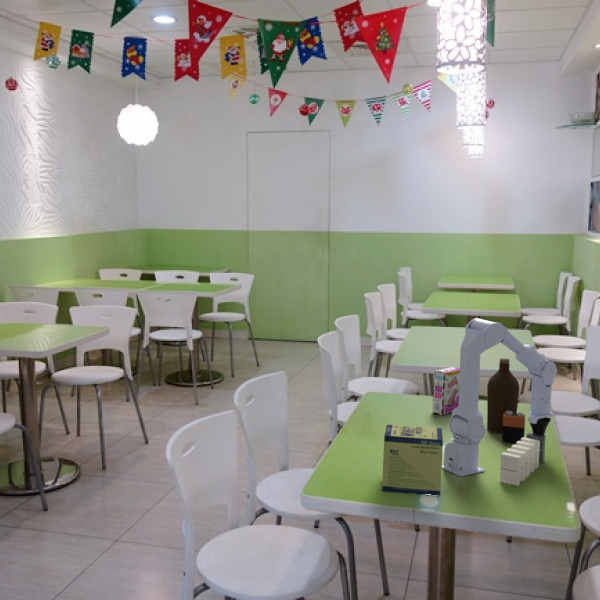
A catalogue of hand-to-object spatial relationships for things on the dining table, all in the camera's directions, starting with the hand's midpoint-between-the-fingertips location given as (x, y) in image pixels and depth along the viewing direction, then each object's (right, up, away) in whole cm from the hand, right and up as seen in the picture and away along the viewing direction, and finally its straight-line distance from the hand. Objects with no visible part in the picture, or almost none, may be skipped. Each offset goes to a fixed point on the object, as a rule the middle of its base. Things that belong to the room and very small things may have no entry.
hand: (538, 441), depth 210 cm
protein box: (-43, -8, -23) cm, 49 cm away
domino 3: (-10, -7, -13) cm, 18 cm away
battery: (-3, -4, +16) cm, 17 cm away
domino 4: (-7, -6, -9) cm, 14 cm away
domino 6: (-2, -6, -2) cm, 6 cm away
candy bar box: (-17, +1, +50) cm, 53 cm away
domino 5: (-5, -6, -6) cm, 10 cm away
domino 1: (-15, -8, -20) cm, 26 cm away
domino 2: (-12, -7, -16) cm, 22 cm away
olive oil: (-3, -2, +28) cm, 29 cm away
